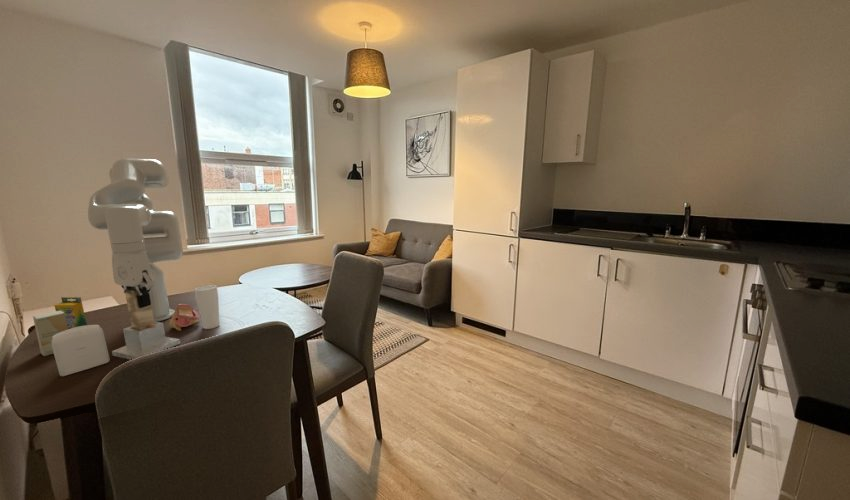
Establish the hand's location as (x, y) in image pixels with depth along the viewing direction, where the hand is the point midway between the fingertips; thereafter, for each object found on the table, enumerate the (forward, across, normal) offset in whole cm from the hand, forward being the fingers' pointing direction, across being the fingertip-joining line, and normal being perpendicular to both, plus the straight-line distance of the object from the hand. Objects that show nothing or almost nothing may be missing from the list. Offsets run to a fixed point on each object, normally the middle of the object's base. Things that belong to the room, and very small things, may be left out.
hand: (139, 305), depth 102 cm
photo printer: (+15, -5, -13) cm, 21 cm away
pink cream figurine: (+15, -5, +17) cm, 23 cm away
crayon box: (+15, -43, +3) cm, 46 cm away
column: (+9, 0, 0) cm, 9 cm away
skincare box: (+15, -27, -9) cm, 32 cm away
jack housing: (+15, 0, 0) cm, 15 cm away
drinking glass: (+15, +4, +19) cm, 25 cm away
